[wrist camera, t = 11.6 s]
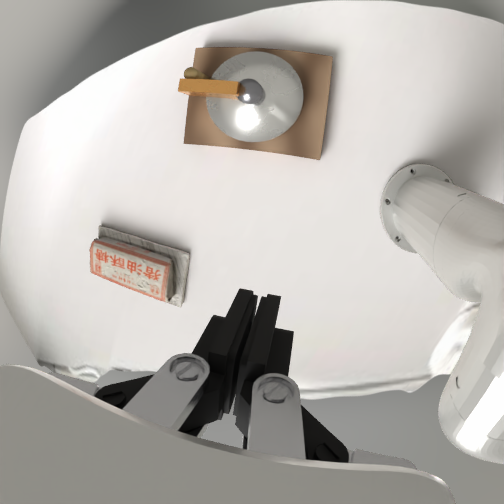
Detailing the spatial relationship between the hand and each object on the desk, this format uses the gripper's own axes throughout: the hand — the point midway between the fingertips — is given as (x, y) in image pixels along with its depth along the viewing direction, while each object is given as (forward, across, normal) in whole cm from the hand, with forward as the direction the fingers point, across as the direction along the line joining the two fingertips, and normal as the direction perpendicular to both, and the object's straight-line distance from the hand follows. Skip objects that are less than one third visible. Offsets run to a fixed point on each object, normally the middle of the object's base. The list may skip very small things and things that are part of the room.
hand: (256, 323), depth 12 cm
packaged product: (+30, +24, +15) cm, 41 cm away
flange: (+27, +7, -13) cm, 31 cm away
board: (+29, +6, -12) cm, 32 cm away
